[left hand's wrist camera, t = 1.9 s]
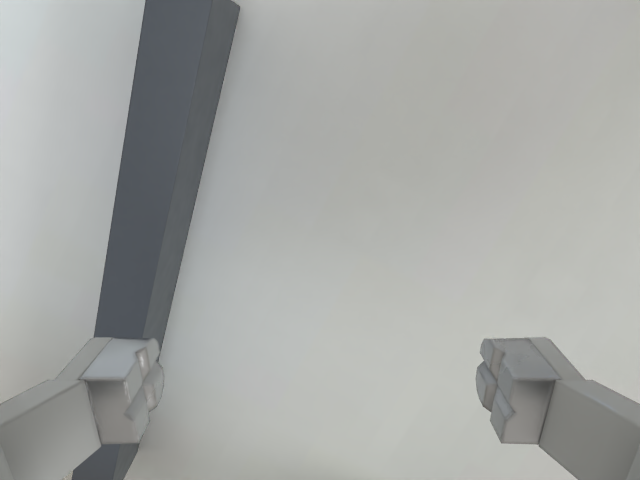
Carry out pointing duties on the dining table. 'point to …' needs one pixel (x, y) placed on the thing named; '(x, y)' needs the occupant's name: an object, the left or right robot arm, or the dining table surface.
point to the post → (159, 178)
